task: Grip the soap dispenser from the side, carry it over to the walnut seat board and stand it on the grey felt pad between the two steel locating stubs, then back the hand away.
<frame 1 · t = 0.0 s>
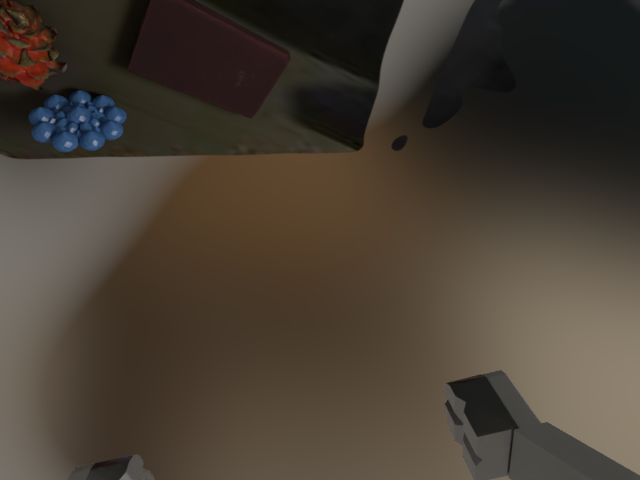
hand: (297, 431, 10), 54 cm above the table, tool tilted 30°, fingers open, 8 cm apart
book: (210, 52, 58), on the table
dragon fruit: (26, 30, 50), on the table
grapes: (85, 98, 59), on the table
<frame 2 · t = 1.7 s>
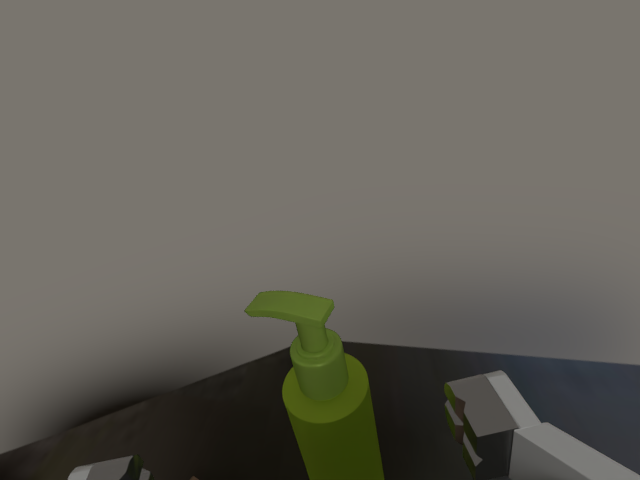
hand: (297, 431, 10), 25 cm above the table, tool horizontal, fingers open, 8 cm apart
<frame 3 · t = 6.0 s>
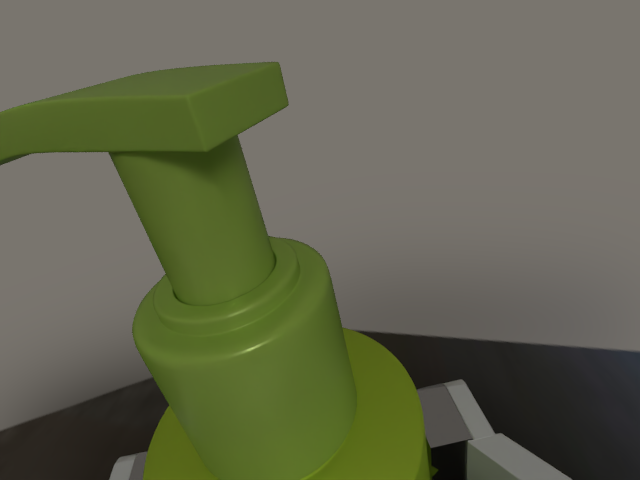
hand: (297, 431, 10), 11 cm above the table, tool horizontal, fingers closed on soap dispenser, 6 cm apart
when the fingers open (14 cm above the table, at t = 10.7 s): soap dispenser stays where it is, resting on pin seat.
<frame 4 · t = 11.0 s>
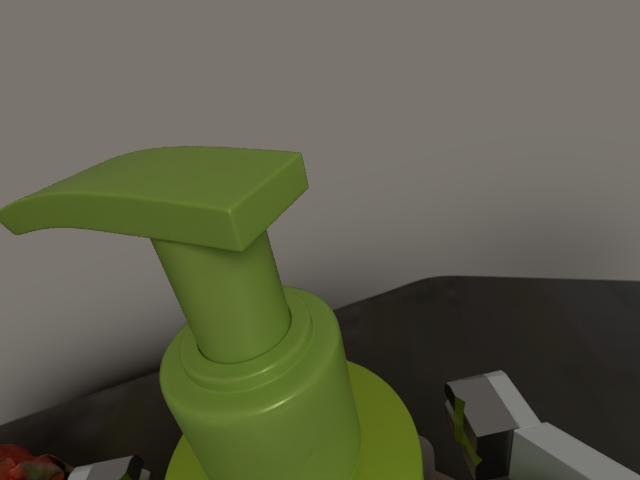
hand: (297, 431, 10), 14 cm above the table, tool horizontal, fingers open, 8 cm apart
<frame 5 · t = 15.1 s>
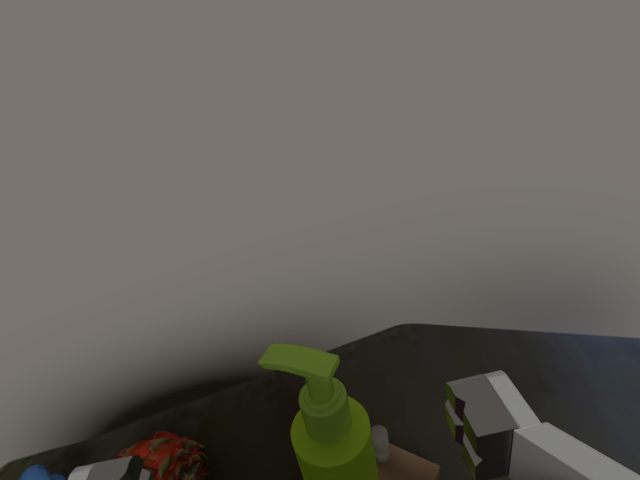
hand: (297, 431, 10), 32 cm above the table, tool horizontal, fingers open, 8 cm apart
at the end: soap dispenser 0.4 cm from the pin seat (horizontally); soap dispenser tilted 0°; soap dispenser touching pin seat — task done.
